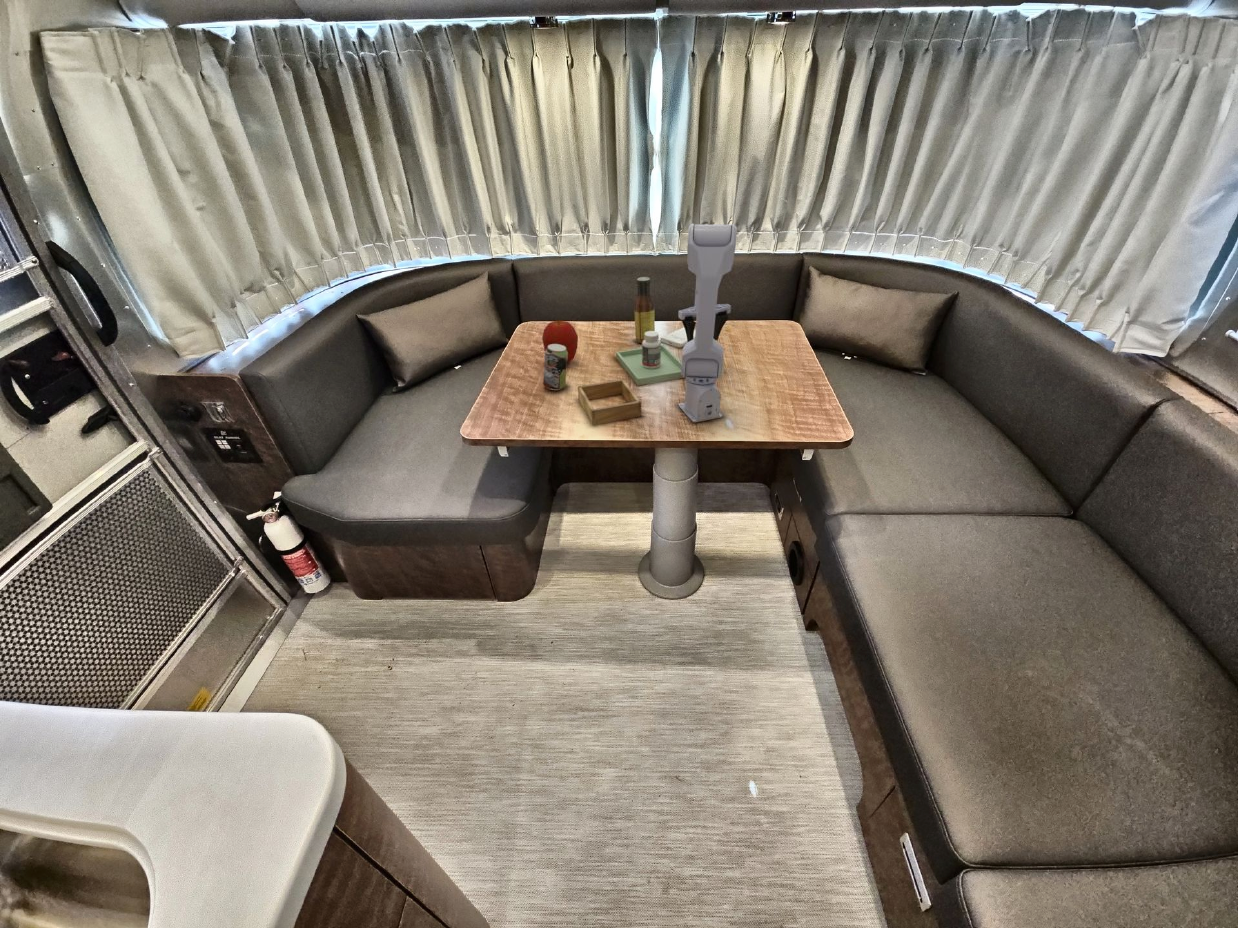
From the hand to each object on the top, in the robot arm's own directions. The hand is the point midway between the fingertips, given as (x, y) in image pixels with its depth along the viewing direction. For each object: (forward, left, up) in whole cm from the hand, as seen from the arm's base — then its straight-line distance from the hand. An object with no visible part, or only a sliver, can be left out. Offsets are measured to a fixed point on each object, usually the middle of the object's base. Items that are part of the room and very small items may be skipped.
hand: (702, 340), depth 147 cm
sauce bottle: (+27, +7, -10) cm, 29 cm away
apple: (+20, +36, -10) cm, 42 cm away
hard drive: (+24, -5, -10) cm, 26 cm away
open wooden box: (-11, +31, -9) cm, 34 cm away
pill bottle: (+8, +12, -9) cm, 17 cm away
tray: (+8, +12, -9) cm, 17 cm away
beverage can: (+5, +41, -10) cm, 42 cm away
